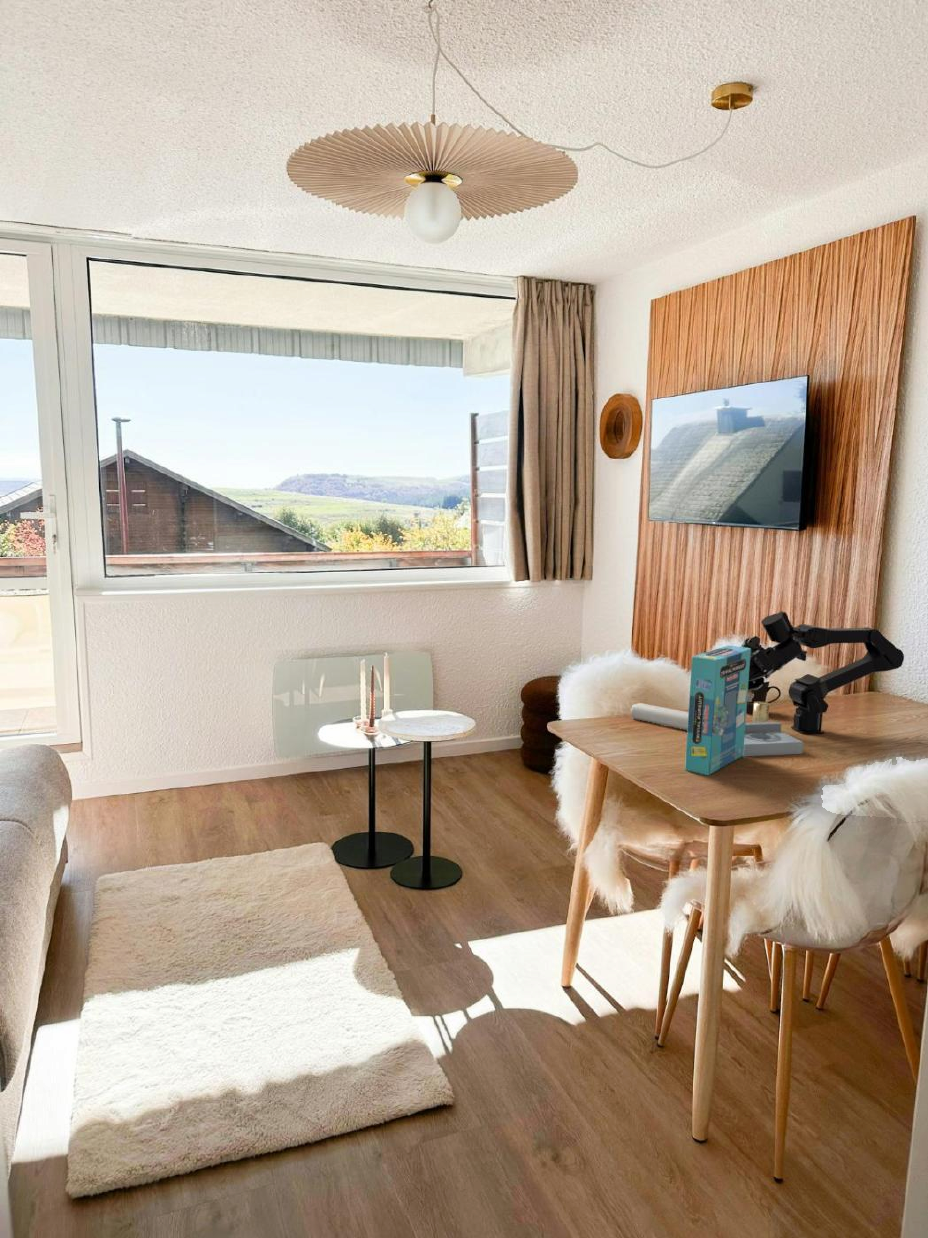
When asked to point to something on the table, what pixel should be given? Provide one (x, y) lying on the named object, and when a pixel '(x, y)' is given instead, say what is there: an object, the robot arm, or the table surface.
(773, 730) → the jig
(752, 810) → the table surface
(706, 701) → the game box
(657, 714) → the tube
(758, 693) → the coffee mug
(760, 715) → the brass cylinder
